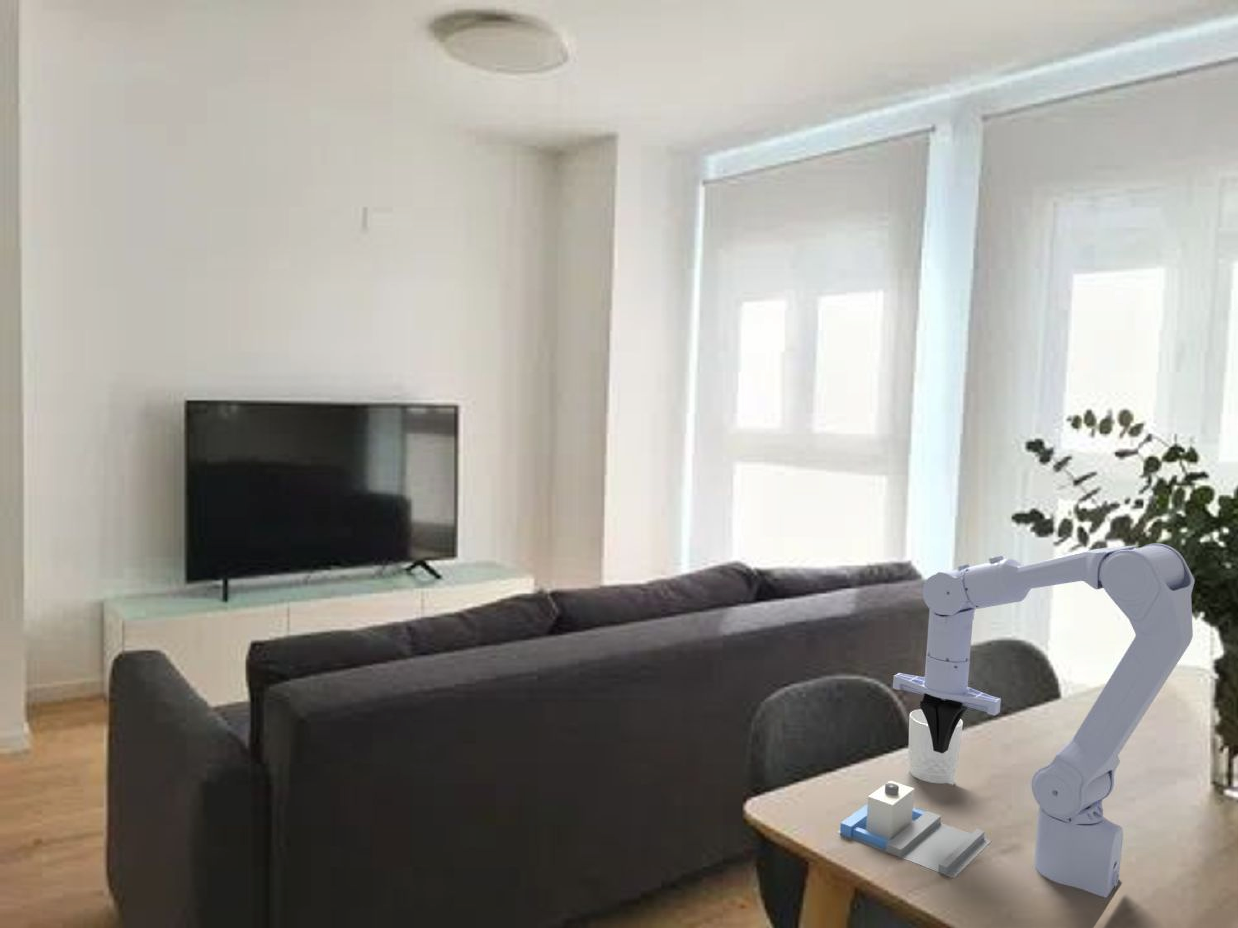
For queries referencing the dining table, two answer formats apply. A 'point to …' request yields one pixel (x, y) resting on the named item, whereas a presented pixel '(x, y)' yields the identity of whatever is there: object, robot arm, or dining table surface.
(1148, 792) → the dining table surface
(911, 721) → the white cup
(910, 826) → the board
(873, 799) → the white knob-topped box
